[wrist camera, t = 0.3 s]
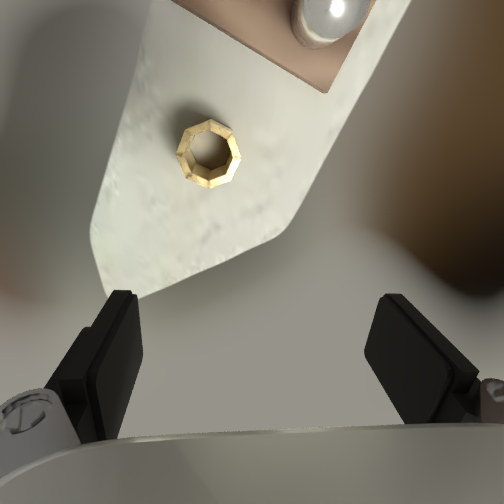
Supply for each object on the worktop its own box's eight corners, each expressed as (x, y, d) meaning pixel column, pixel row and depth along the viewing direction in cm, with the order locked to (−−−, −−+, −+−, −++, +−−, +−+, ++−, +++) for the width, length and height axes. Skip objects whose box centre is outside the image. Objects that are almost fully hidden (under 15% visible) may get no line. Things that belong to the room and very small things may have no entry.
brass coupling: (196, 110, 33) (191, 111, 28) (245, 136, 35) (248, 141, 29) (177, 161, 35) (169, 170, 30) (224, 182, 37) (224, 195, 32)
